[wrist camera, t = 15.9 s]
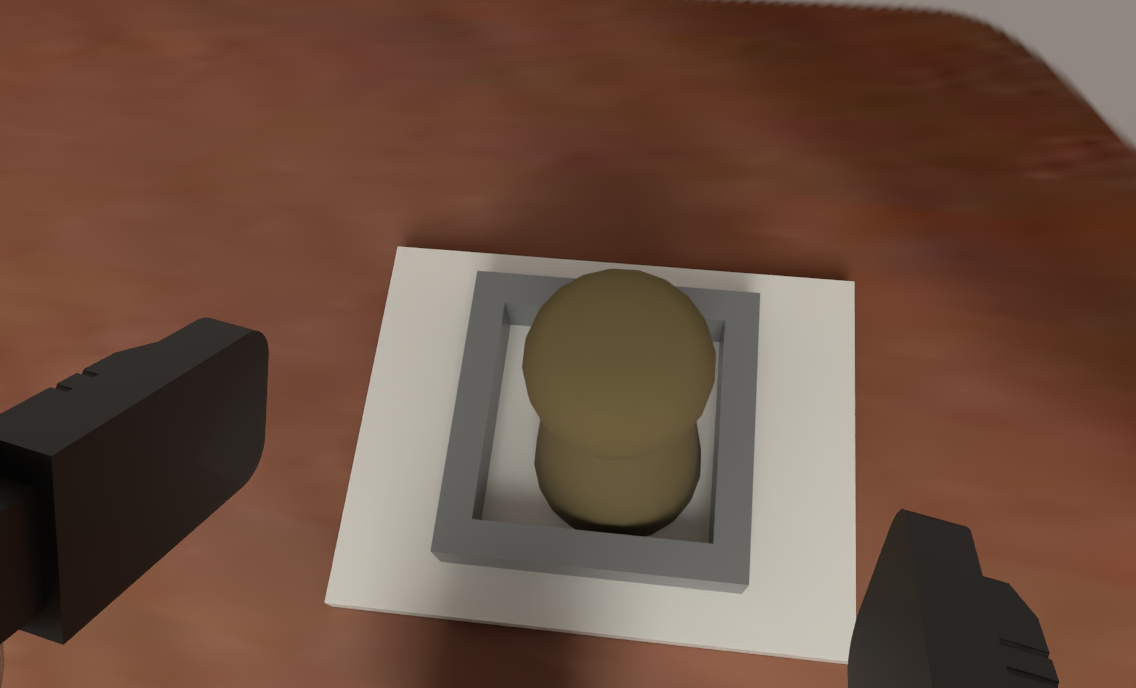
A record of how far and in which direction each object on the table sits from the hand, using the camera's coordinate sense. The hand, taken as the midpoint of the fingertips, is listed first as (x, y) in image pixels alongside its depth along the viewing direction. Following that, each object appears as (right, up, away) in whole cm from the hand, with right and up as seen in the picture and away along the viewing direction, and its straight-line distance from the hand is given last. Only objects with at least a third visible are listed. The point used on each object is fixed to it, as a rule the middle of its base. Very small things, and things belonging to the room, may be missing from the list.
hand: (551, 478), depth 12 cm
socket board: (+2, -2, +24) cm, 24 cm away
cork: (+2, -2, +22) cm, 23 cm away
